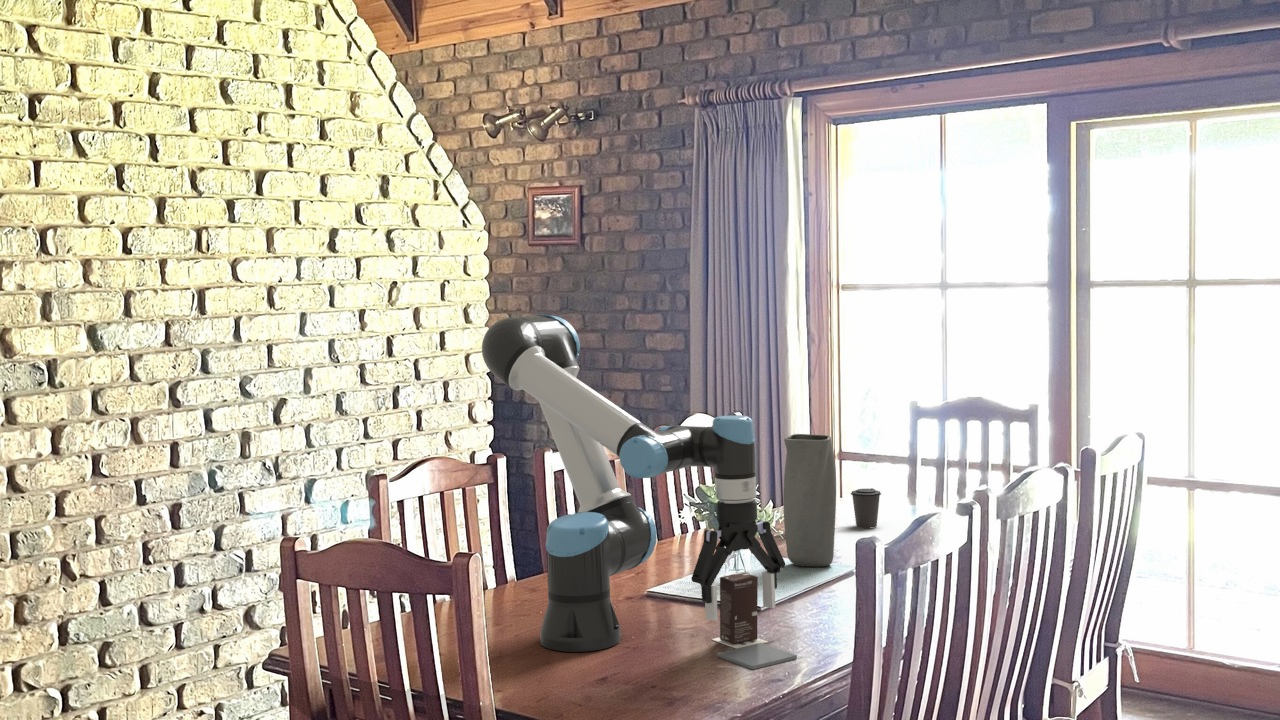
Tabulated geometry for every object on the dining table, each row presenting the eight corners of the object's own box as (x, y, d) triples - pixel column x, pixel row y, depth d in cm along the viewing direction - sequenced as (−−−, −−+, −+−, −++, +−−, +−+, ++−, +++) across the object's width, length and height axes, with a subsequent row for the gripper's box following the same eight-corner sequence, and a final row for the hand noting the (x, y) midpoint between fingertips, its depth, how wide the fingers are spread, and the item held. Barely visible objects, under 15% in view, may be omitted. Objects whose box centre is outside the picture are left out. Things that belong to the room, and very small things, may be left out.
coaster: (752, 669, 222) (752, 666, 222) (717, 656, 230) (717, 653, 230) (796, 658, 228) (796, 655, 228) (760, 646, 236) (760, 642, 236)
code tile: (738, 649, 234) (738, 648, 234) (711, 639, 241) (711, 638, 241) (767, 642, 238) (767, 641, 238) (740, 633, 245) (740, 632, 245)
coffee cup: (886, 525, 345) (885, 487, 344) (875, 530, 338) (874, 492, 337) (858, 522, 349) (857, 486, 348) (846, 528, 342) (845, 490, 341)
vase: (795, 557, 309) (792, 432, 307) (844, 560, 303) (841, 434, 301) (776, 567, 298) (773, 439, 296) (826, 572, 292) (824, 440, 290)
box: (734, 645, 236) (732, 581, 235) (719, 640, 240) (717, 576, 239) (760, 639, 239) (758, 575, 238) (745, 634, 243) (743, 571, 242)
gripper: (694, 511, 228) (699, 629, 229) (801, 493, 242) (805, 605, 243) (669, 506, 234) (674, 621, 235) (775, 489, 248) (779, 598, 249)
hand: (741, 613), depth 239 cm, fingers open, 13 cm apart
